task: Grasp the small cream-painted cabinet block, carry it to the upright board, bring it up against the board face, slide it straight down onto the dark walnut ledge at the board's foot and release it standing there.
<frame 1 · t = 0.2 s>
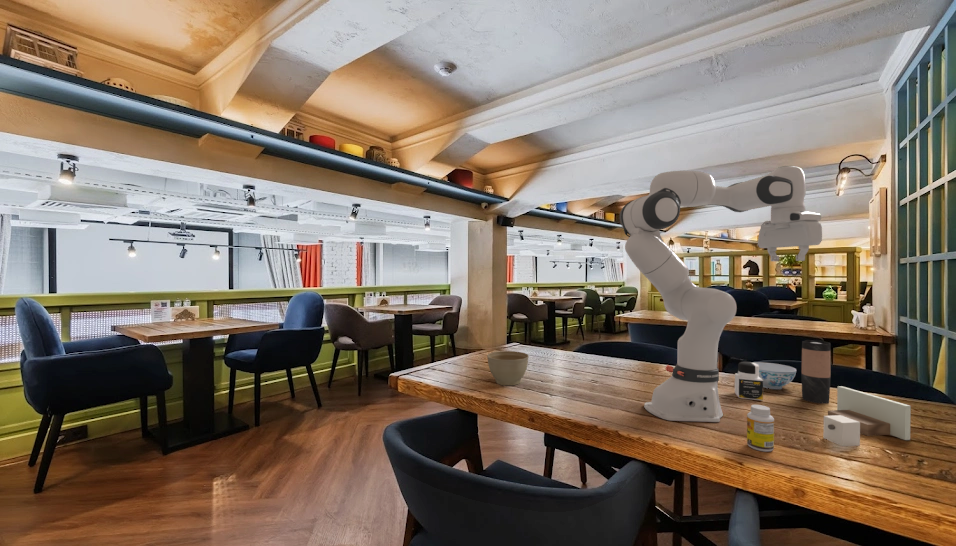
hand: (787, 261, 131), 47 cm above the table, fingers open, 8 cm apart
medicine bottle: (748, 397, 143), on the table
supplement bottle: (760, 448, 102), on the table
chinaware: (771, 387, 155), on the table
cleat ledge: (857, 427, 115), on the table
cabinet block: (841, 441, 106), on the table
planter bowl: (507, 383, 159), on the table
wall board: (870, 426, 116), on the table
travel mug: (815, 400, 139), on the table
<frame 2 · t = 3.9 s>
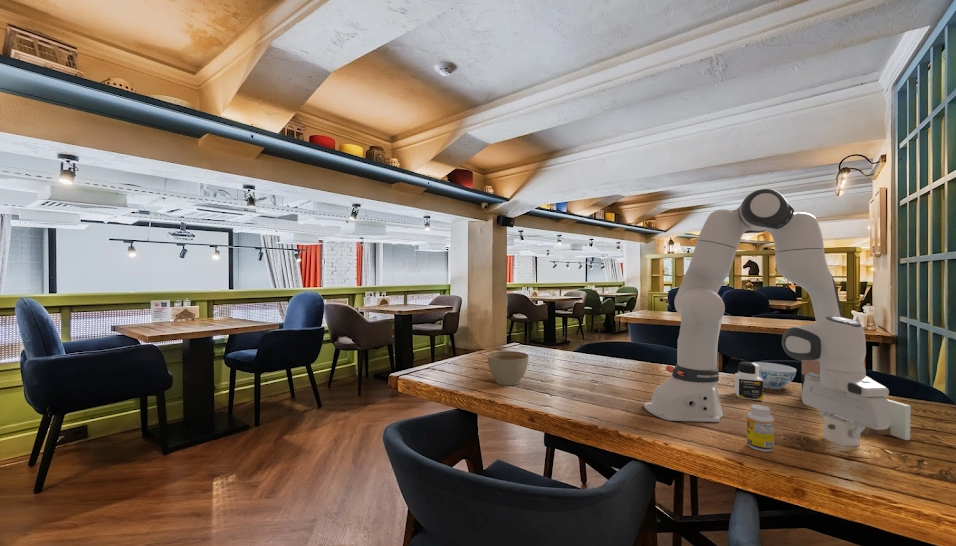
hand: (841, 433, 106), 2 cm above the table, fingers closed on cabinet block, 5 cm apart
cabinet block: (841, 441, 106), on the table, touching gripper
everything else where it was.
when the fingers open (6 cm above the table, at t = 9.4 s): cabinet block stays where it is, resting on cleat ledge.
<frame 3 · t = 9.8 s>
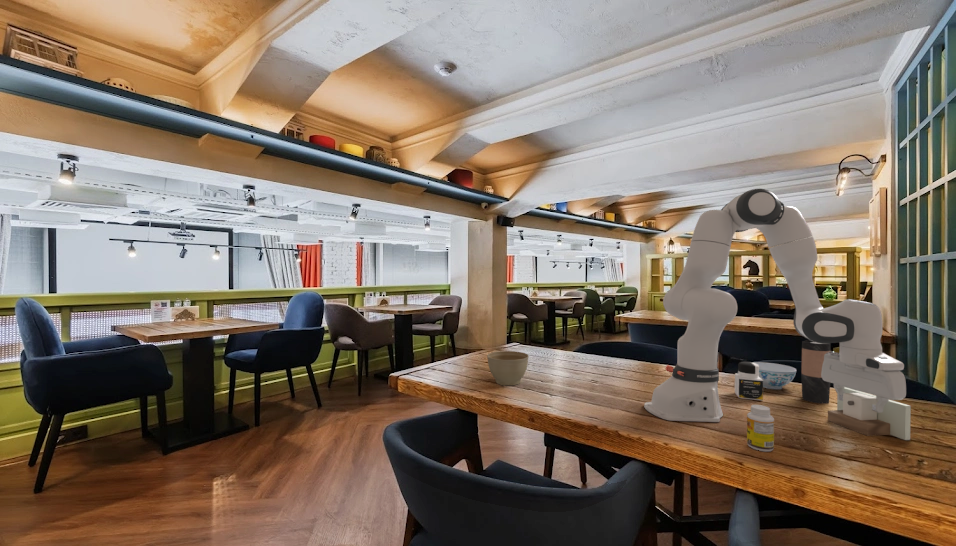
hand: (859, 405, 115), 6 cm above the table, fingers open, 8 cm apart
cabinet block: (859, 416, 115), point 3 cm above the table, touching cleat ledge
everything else where it was.
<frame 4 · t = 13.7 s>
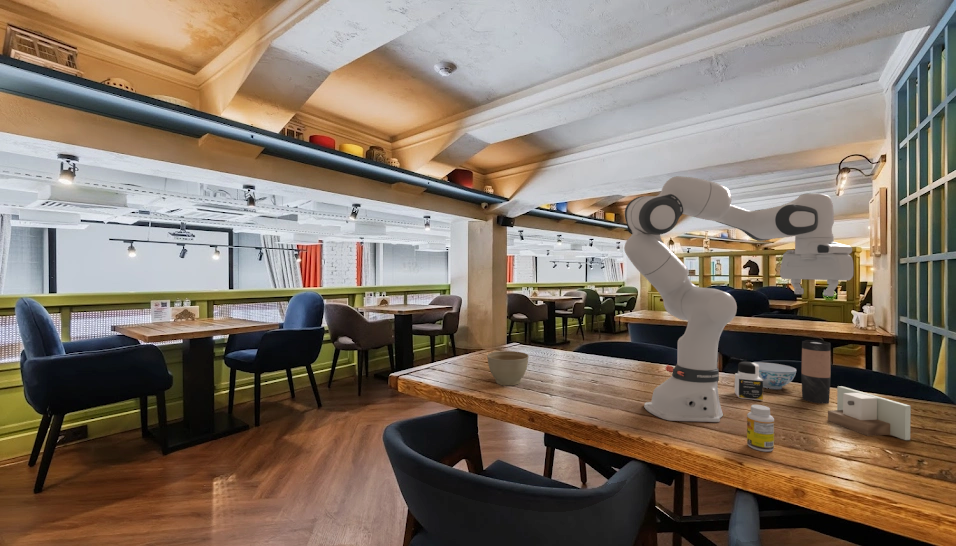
hand: (813, 295, 121), 37 cm above the table, fingers open, 8 cm apart
nothing on the table moved.
at the end: cabinet block inside the target area (0.9 cm from its centre), point 3.0 cm above the table; cabinet block tilted 0°; the gripper is holding nothing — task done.
